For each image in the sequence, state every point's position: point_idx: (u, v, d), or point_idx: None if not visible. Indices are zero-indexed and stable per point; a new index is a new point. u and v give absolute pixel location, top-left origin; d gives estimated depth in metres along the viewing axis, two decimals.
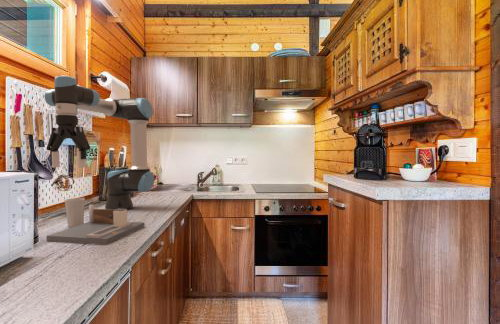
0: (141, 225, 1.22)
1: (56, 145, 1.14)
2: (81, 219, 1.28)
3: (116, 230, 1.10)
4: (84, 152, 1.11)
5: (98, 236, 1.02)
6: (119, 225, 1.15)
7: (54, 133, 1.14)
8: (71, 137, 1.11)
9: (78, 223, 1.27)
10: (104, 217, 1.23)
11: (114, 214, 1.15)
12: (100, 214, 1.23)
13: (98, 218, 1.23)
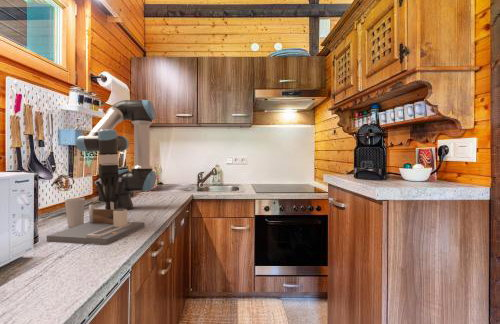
0: (141, 225, 1.22)
1: (111, 193, 1.25)
2: (81, 219, 1.28)
3: (116, 230, 1.10)
4: (106, 204, 1.23)
5: (98, 236, 1.02)
6: (119, 225, 1.15)
7: (118, 182, 1.28)
8: None
9: (78, 223, 1.27)
10: (104, 217, 1.23)
11: (114, 214, 1.15)
12: (100, 214, 1.23)
13: (98, 218, 1.23)
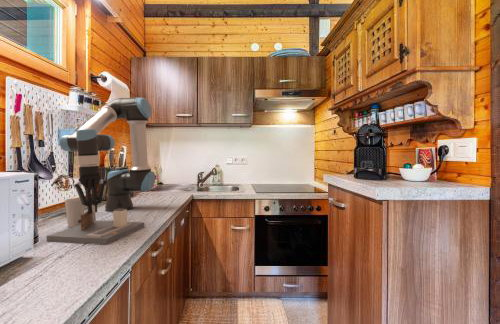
0: (141, 225, 1.22)
1: (92, 196, 1.19)
2: None
3: (116, 230, 1.10)
4: (88, 207, 1.17)
5: (98, 236, 1.02)
6: (119, 225, 1.15)
7: (99, 184, 1.22)
8: None
9: (78, 223, 1.27)
10: None
11: (114, 214, 1.15)
12: None
13: None
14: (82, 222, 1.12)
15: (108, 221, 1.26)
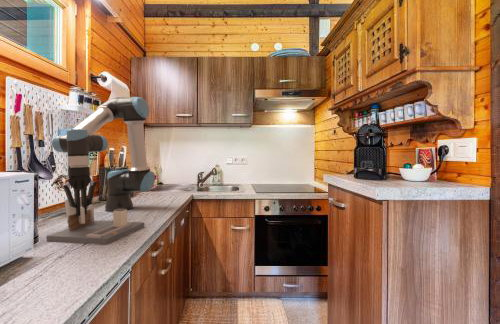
0: (141, 225, 1.22)
1: (81, 198, 1.16)
2: None
3: (116, 230, 1.10)
4: (76, 209, 1.14)
5: (98, 236, 1.02)
6: (119, 225, 1.15)
7: (90, 186, 1.19)
8: None
9: None
10: None
11: (114, 214, 1.15)
12: None
13: None
14: (69, 222, 1.12)
15: (108, 221, 1.26)
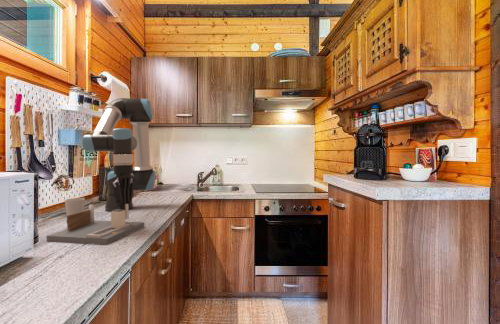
0: (141, 225, 1.22)
1: None
2: None
3: (116, 230, 1.10)
4: (121, 206, 1.18)
5: (98, 236, 1.02)
6: (117, 226, 1.14)
7: None
8: None
9: None
10: None
11: (112, 215, 1.14)
12: None
13: None
14: (68, 222, 1.12)
15: (108, 221, 1.26)
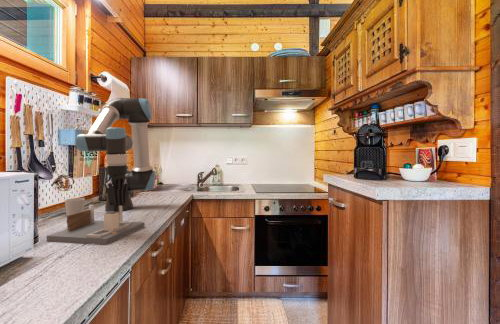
0: (141, 225, 1.22)
1: None
2: None
3: (116, 230, 1.10)
4: (115, 208, 1.14)
5: (98, 236, 1.02)
6: (110, 229, 1.10)
7: None
8: None
9: None
10: None
11: (105, 217, 1.10)
12: None
13: None
14: (68, 222, 1.12)
15: None
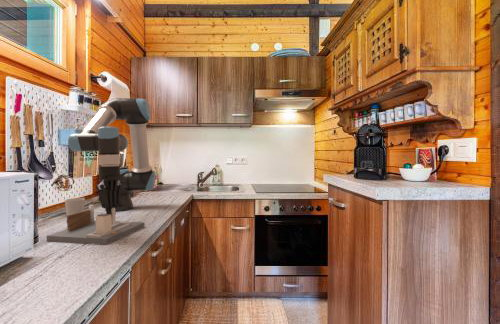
0: (141, 225, 1.22)
1: None
2: None
3: (116, 230, 1.10)
4: (107, 210, 1.10)
5: (98, 236, 1.02)
6: (102, 232, 1.06)
7: None
8: None
9: None
10: None
11: (97, 220, 1.06)
12: None
13: None
14: (68, 222, 1.12)
15: None
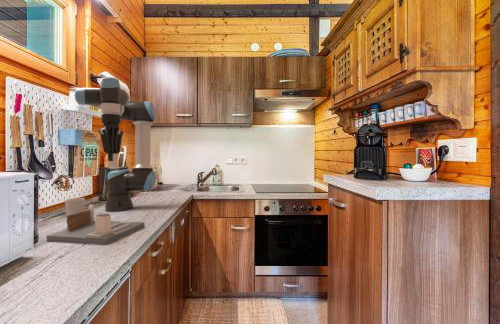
0: (141, 225, 1.22)
1: None
2: None
3: (116, 230, 1.10)
4: (109, 154, 1.19)
5: (98, 236, 1.02)
6: (102, 232, 1.05)
7: None
8: None
9: None
10: None
11: (96, 220, 1.06)
12: None
13: None
14: (68, 222, 1.12)
15: None
